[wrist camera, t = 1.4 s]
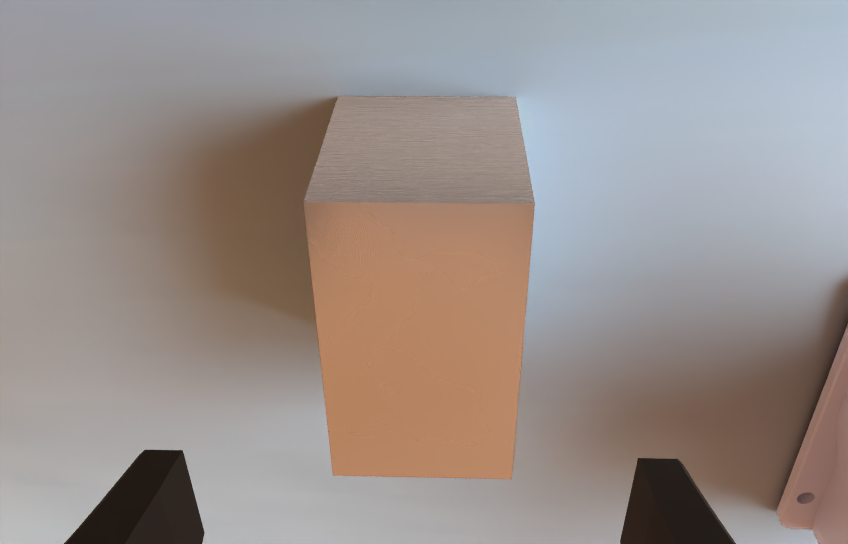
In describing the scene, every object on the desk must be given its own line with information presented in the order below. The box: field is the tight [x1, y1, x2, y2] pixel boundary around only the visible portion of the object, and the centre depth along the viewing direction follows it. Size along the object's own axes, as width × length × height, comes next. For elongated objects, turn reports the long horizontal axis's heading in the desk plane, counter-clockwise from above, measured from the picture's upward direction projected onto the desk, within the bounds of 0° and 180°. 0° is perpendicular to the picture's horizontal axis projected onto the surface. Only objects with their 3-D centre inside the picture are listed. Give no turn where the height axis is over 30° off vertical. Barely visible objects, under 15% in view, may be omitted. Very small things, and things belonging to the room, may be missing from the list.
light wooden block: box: [303, 96, 535, 479], centre depth 17 cm, size 7×4×5 cm, turn 0°
